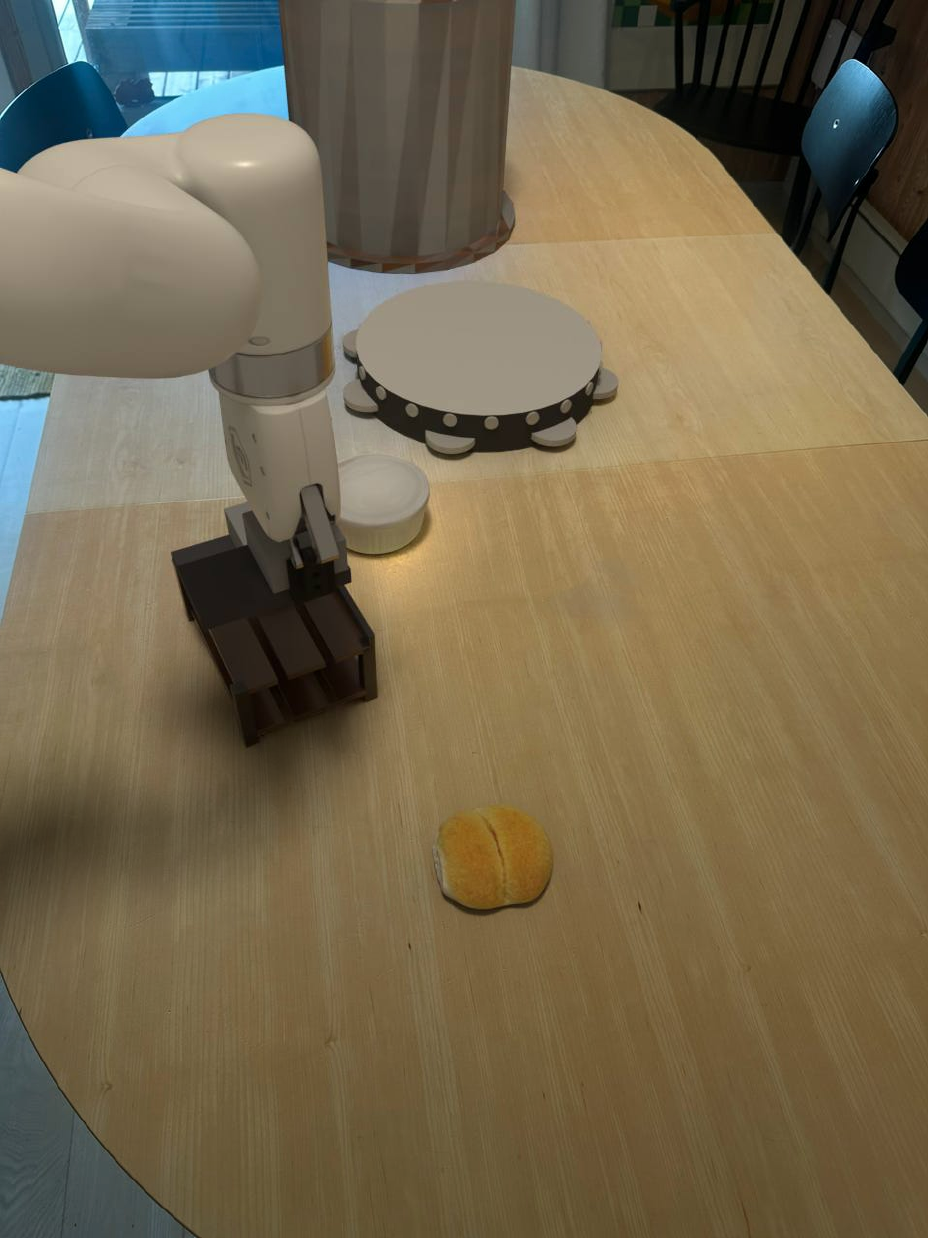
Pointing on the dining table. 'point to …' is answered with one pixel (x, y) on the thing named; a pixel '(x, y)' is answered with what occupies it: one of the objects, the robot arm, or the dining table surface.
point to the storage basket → (405, 125)
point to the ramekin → (381, 501)
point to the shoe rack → (292, 658)
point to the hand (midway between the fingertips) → (297, 565)
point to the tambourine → (477, 367)
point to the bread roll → (492, 857)
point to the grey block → (217, 544)
